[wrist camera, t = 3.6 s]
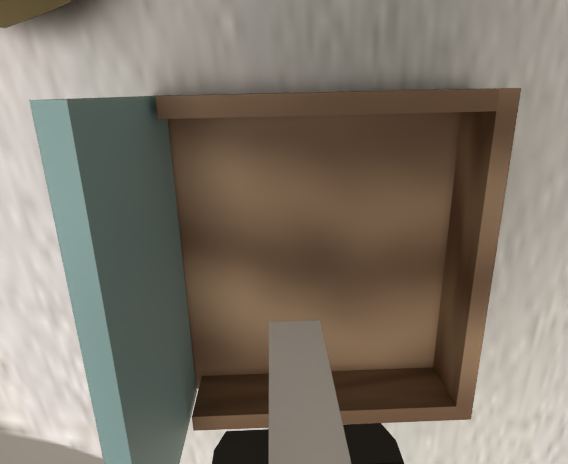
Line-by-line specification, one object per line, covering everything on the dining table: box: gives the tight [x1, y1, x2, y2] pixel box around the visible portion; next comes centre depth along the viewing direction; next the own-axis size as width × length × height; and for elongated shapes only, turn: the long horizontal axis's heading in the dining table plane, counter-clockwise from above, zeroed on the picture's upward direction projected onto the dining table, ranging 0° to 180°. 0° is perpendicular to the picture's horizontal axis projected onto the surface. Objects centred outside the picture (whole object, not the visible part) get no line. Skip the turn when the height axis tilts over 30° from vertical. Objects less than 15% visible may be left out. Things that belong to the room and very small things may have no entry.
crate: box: [156, 88, 521, 430], centre depth 20 cm, size 15×15×4 cm
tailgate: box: [30, 96, 197, 464], centre depth 16 cm, size 15×1×9 cm, turn 1°
